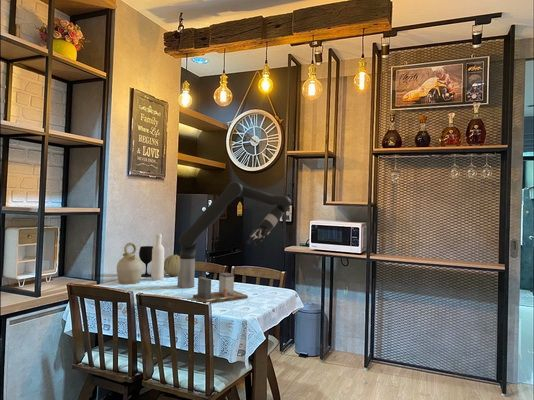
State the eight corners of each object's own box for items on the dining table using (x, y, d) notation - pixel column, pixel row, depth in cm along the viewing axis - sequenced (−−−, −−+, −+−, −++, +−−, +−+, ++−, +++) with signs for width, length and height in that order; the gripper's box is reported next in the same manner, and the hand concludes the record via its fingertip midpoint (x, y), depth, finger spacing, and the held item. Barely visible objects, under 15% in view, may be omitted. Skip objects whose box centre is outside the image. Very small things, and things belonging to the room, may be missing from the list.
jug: (115, 280, 254) (116, 241, 254) (140, 279, 260) (141, 241, 261) (117, 285, 240) (118, 244, 240) (143, 284, 246) (145, 243, 247)
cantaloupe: (163, 278, 268) (163, 255, 268) (162, 274, 282) (163, 253, 282) (185, 277, 272) (186, 255, 272) (184, 273, 286) (184, 252, 286)
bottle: (158, 277, 268) (160, 233, 268) (166, 279, 263) (167, 234, 263) (148, 279, 262) (150, 233, 262) (155, 281, 257) (157, 234, 257)
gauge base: (232, 292, 230) (232, 289, 230) (247, 298, 217) (247, 295, 217) (192, 297, 215) (192, 294, 215) (206, 304, 203) (207, 300, 203)
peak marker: (225, 295, 214) (225, 288, 214) (227, 296, 212) (227, 289, 212) (223, 296, 213) (223, 288, 213) (225, 296, 211) (225, 289, 211)
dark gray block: (202, 295, 215) (203, 276, 215) (210, 298, 208) (211, 279, 208) (197, 295, 213) (198, 277, 213) (205, 299, 206) (206, 280, 206)
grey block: (226, 292, 223) (227, 272, 223) (235, 295, 215) (236, 275, 215) (218, 293, 220) (219, 273, 220) (227, 296, 212) (228, 276, 212)
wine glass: (137, 277, 268) (138, 247, 268) (139, 274, 278) (140, 245, 278) (153, 277, 270) (154, 247, 270) (154, 274, 280) (155, 246, 281)
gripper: (258, 218, 240) (241, 238, 233) (272, 219, 228) (255, 240, 221) (265, 227, 243) (248, 247, 236) (279, 228, 231) (262, 249, 224)
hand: (251, 243), depth 228 cm, fingers open, 7 cm apart
